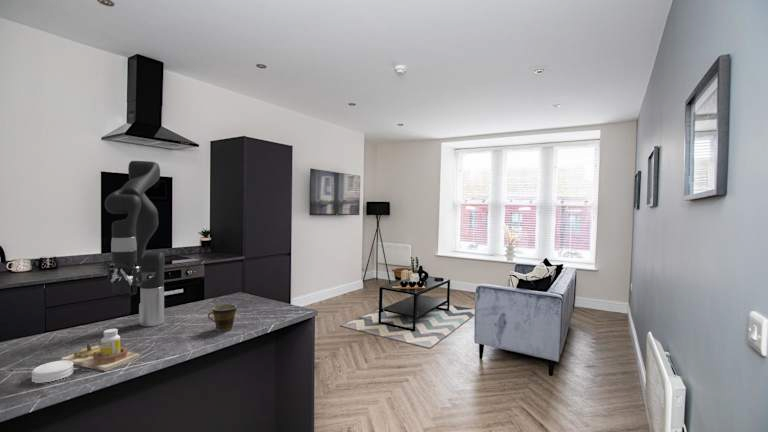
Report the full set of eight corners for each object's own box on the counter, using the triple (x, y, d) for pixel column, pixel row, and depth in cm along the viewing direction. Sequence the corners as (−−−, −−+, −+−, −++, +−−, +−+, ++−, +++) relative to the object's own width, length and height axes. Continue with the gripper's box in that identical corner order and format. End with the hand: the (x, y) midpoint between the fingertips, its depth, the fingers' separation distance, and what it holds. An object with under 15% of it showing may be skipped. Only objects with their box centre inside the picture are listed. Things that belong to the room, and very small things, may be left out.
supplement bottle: (117, 353, 132) (117, 326, 132) (122, 357, 129) (122, 330, 129) (99, 358, 128) (99, 330, 128) (103, 362, 125) (103, 334, 124)
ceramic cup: (227, 324, 170) (227, 302, 169) (241, 328, 165) (241, 306, 164) (201, 332, 159) (201, 309, 158) (215, 336, 153) (215, 313, 153)
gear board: (60, 361, 128) (60, 348, 127) (97, 348, 139) (96, 336, 139) (105, 371, 121) (105, 357, 121) (139, 357, 132) (139, 344, 132)
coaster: (28, 387, 110) (28, 376, 110) (34, 375, 118) (34, 364, 118) (72, 378, 116) (71, 368, 116) (75, 367, 124) (74, 357, 124)
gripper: (99, 249, 131) (100, 293, 131) (128, 252, 126) (128, 298, 127) (120, 246, 138) (121, 289, 138) (148, 249, 133) (148, 293, 134)
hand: (124, 293), depth 133 cm, fingers open, 8 cm apart
